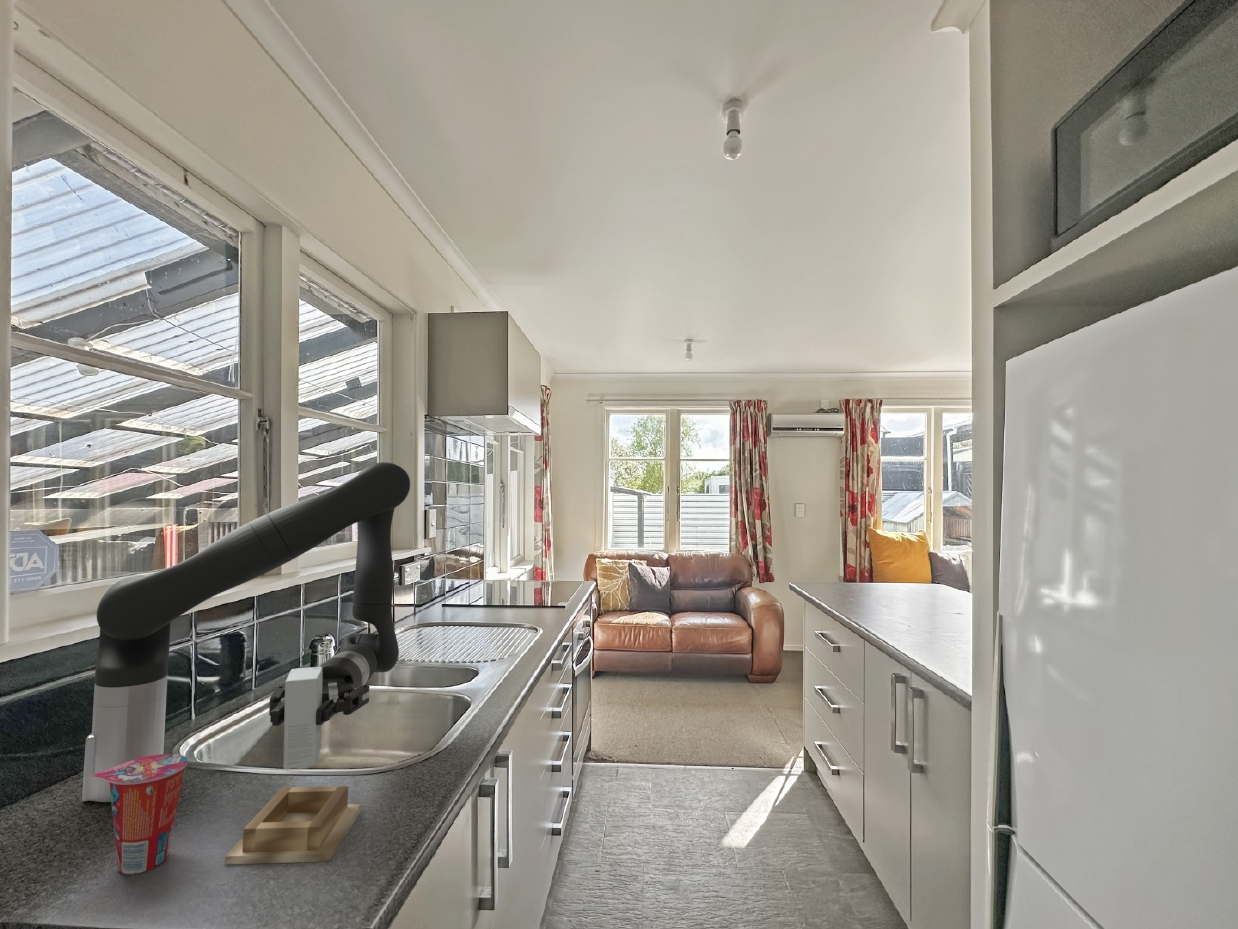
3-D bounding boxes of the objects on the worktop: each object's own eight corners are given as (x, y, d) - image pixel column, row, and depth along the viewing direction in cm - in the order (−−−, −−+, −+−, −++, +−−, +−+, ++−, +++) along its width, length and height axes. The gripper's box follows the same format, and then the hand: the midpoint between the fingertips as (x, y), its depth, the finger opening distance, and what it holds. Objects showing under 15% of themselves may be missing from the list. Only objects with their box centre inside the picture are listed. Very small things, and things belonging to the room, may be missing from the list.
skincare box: (288, 752, 91) (291, 668, 91) (321, 748, 92) (323, 665, 93) (281, 770, 85) (284, 681, 85) (316, 766, 86) (319, 678, 87)
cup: (171, 837, 87) (175, 748, 87) (192, 860, 82) (197, 766, 82) (83, 866, 80) (89, 769, 80) (100, 895, 74) (106, 791, 75)
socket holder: (224, 864, 81) (226, 832, 81) (270, 813, 94) (271, 785, 94) (330, 861, 82) (331, 829, 82) (360, 810, 95) (362, 783, 95)
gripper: (294, 657, 102) (242, 691, 86) (385, 656, 104) (352, 690, 87) (292, 703, 102) (240, 747, 85) (384, 702, 104) (350, 745, 87)
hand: (297, 718), depth 86 cm, fingers closed on skincare box, 5 cm apart
